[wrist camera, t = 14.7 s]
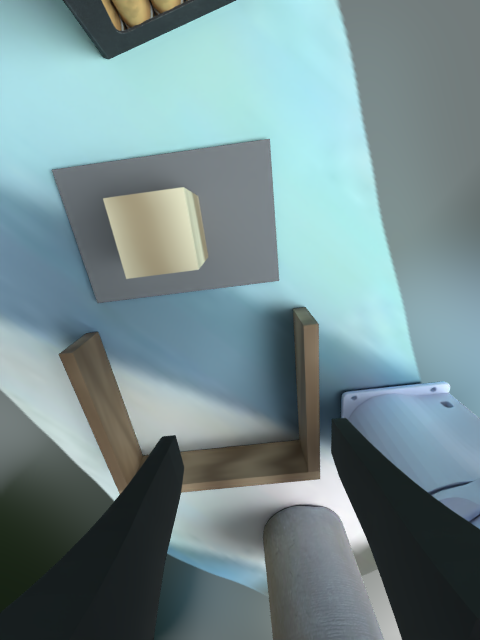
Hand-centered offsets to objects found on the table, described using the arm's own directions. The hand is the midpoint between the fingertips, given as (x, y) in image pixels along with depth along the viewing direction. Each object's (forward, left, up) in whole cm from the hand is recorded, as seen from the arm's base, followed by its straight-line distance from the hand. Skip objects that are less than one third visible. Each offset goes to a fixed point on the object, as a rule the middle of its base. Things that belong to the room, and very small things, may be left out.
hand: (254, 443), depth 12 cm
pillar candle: (-4, +26, -11) cm, 28 cm away
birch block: (+4, -9, -10) cm, 14 cm away
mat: (+4, -10, -10) cm, 15 cm away
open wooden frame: (+4, +5, -10) cm, 12 cm away
